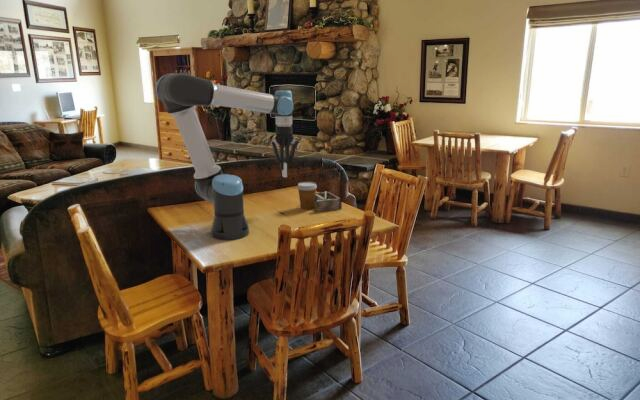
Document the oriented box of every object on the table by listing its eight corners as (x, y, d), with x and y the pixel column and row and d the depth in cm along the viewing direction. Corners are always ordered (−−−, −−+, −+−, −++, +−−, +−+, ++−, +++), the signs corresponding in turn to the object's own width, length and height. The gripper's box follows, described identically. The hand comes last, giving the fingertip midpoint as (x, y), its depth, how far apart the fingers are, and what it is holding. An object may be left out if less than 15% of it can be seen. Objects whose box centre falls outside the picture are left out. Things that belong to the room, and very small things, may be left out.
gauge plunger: (322, 210, 215) (322, 191, 213) (314, 204, 225) (314, 186, 222) (334, 208, 217) (334, 190, 215) (325, 203, 227) (325, 185, 224)
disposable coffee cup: (320, 207, 220) (320, 183, 216) (310, 212, 212) (309, 187, 209) (304, 204, 225) (304, 180, 221) (293, 209, 217) (293, 184, 214)
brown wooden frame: (317, 211, 212) (317, 201, 211) (305, 203, 226) (305, 193, 224) (341, 209, 217) (341, 198, 215) (328, 201, 230) (328, 191, 229)
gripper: (272, 126, 198) (273, 179, 204) (300, 125, 203) (300, 177, 209) (267, 125, 204) (268, 176, 211) (294, 124, 209) (295, 174, 215)
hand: (284, 176), depth 210 cm, fingers closed
